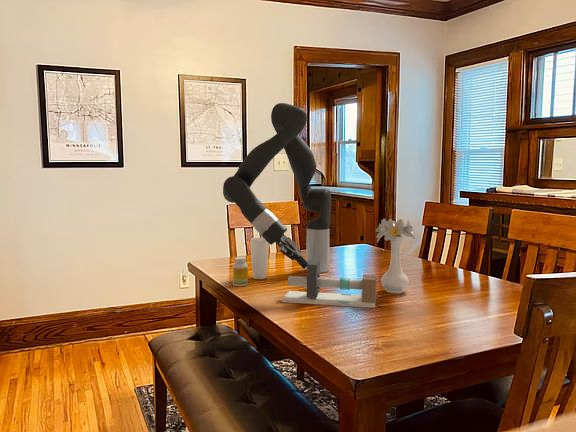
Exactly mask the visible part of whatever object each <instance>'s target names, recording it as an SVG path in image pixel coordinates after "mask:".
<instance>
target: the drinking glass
mask: <svg viewBox="0 0 576 432" xmlns="http://www.w3.org/2000/svg"><path fill="white" fill-rule="evenodd" d="M249 243H250V259H251V274H252V276H251V277H252V278H253V279H254V280H265V279H266V278H267V273H268V272H267V271H268V260H269V246H270V244H269V243H268V242H267V241H266V240H265V239H264V238H263V237H251V238H250V242H249Z"/></svg>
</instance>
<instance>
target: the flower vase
mask: <svg viewBox="0 0 576 432" xmlns="http://www.w3.org/2000/svg"><path fill="white" fill-rule="evenodd" d="M410 224H411V223H410V220H409V219H407V224H404V221H403V219H401V218H399V219H398V220H397V221H395V220H393V219H392V218H390V219H388V220H387V219H385V218H383V219H381V220H380V223H379V224H378V227H376V228H375V232H378V233H377V234H376V236H375V237H376V239H377V240H376V243H379V241H380V240H381V238H382V237H384V239H383V240H384V241H390V247H391V248H390V263H389V266H388V269H387V271H386V272H385V273H384V274H383V275H382V276H381V279H380V283H381V285H382V287H383V288H385V292H387V293H389V294H403V293H404V292H405V289H406V288H408V286H409V284H410V283H409V282H410V280H409V277H408V276H407V275H406V274H405V273H404V271H403V268H402V266H401V245H402V242H403V241H402V240H403V239H404V236H405V237H407V238H410V237H411V238H412V239H413V240H415V241H417V239H416V237H415V236H414V233H415V231H414V229H413V226H412V225H410Z"/></svg>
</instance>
